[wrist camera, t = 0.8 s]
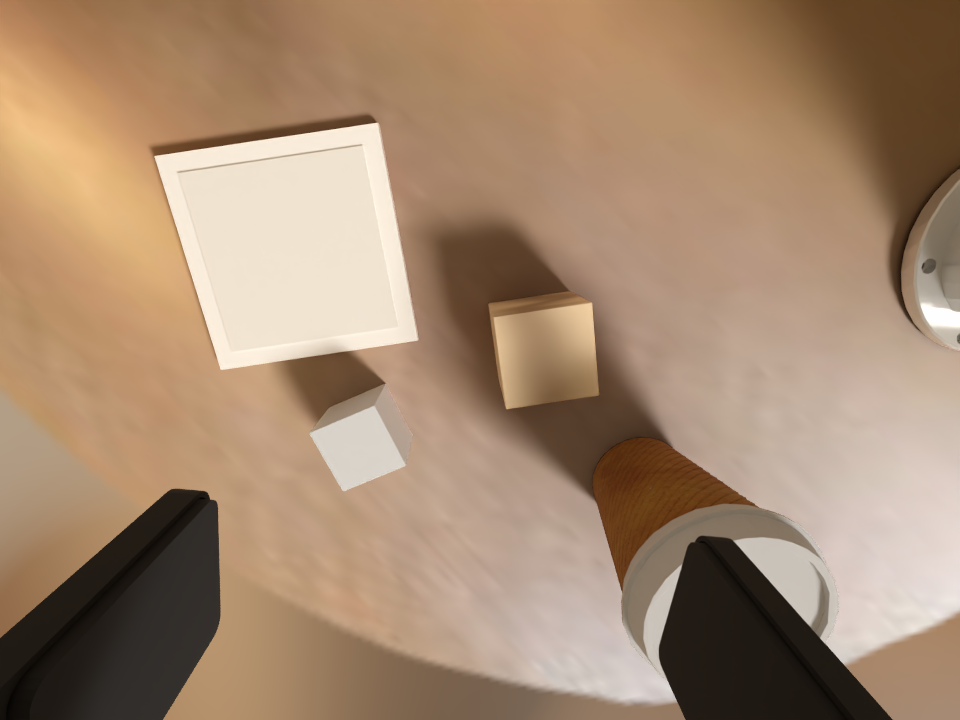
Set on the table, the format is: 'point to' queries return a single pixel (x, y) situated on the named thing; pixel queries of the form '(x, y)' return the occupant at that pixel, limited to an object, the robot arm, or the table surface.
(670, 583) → the disposable coffee cup
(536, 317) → the oak cube
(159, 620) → the robot arm
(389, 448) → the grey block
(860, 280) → the table surface
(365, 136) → the tray
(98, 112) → the table surface
